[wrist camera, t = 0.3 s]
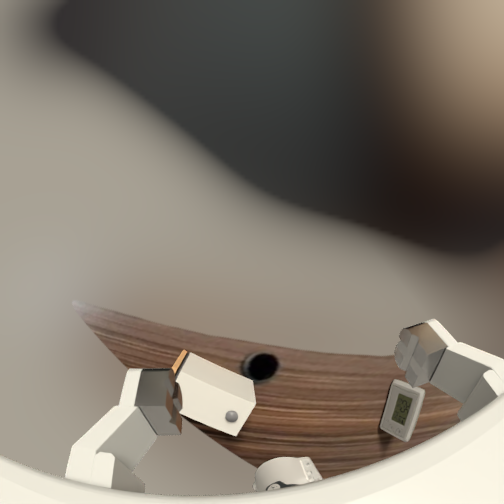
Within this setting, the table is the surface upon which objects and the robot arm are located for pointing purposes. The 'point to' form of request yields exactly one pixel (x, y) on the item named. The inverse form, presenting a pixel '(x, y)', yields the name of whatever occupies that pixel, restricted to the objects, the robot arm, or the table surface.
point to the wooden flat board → (179, 362)
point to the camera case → (215, 394)
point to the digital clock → (402, 410)
